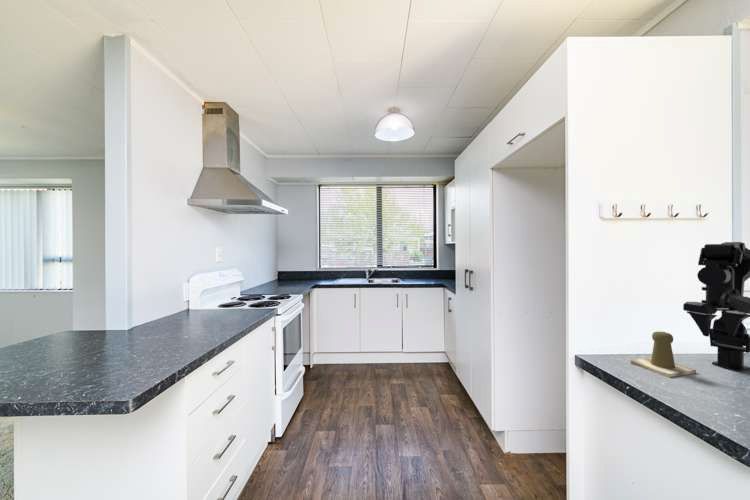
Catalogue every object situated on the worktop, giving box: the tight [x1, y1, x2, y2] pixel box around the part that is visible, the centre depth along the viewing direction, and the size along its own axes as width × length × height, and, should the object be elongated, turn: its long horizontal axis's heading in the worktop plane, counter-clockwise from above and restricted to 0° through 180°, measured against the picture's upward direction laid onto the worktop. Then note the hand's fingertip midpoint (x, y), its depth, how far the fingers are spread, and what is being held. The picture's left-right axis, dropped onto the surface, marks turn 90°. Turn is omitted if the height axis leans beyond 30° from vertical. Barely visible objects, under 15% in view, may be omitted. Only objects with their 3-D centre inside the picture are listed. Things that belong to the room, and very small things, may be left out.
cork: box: [650, 331, 675, 369], centre depth 102 cm, size 6×6×11 cm
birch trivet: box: [630, 357, 697, 378], centre depth 102 cm, size 12×12×1 cm
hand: (718, 336), depth 93 cm, fingers open, 9 cm apart
